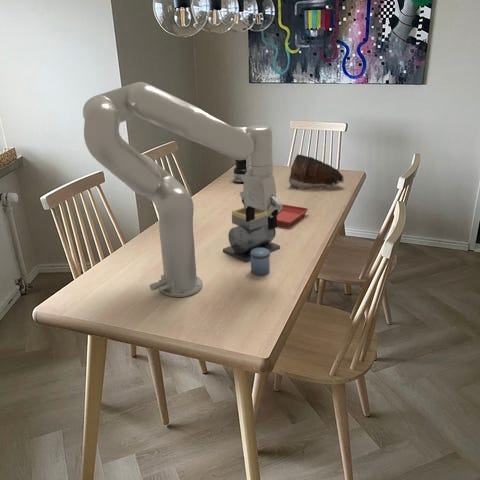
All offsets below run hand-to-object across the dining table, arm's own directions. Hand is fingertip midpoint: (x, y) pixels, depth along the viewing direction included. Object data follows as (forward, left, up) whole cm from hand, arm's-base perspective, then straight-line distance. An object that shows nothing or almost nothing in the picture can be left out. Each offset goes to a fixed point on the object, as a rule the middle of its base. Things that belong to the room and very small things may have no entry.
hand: (261, 224), depth 143 cm
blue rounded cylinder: (0, 0, -16) cm, 16 cm away
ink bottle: (+62, +79, -16) cm, 102 cm away
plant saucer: (+38, +29, -17) cm, 50 cm away
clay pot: (+81, +46, -16) cm, 94 cm away
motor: (+9, +14, -16) cm, 23 cm away
